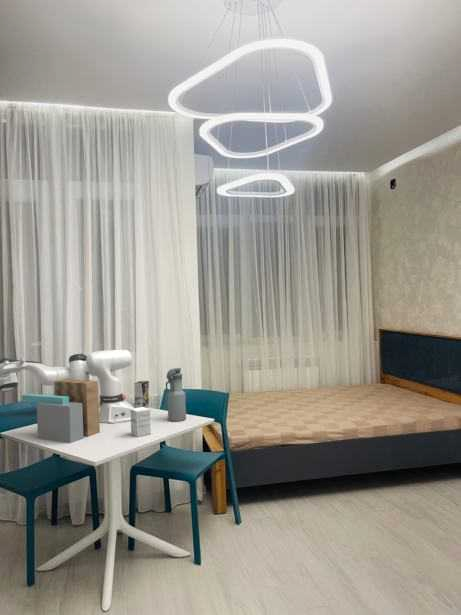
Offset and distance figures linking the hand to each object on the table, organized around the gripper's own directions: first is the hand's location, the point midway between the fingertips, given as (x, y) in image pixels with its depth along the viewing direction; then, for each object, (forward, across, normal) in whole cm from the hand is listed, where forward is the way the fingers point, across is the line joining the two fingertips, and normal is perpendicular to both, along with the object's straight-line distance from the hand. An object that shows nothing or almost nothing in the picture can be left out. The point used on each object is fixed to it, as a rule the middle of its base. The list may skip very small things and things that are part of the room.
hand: (15, 361), depth 239 cm
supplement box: (+39, -18, -65) cm, 78 cm away
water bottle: (+40, -49, -65) cm, 90 cm away
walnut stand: (+11, -9, -48) cm, 50 cm away
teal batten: (+10, +2, -28) cm, 30 cm away
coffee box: (+6, -68, -46) cm, 82 cm away
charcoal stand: (+11, +2, -48) cm, 49 cm away
